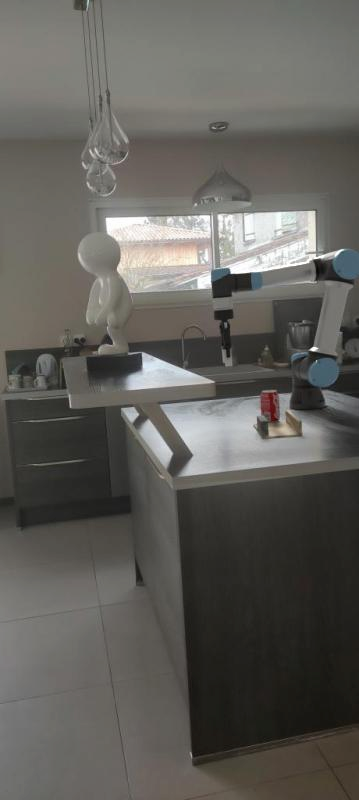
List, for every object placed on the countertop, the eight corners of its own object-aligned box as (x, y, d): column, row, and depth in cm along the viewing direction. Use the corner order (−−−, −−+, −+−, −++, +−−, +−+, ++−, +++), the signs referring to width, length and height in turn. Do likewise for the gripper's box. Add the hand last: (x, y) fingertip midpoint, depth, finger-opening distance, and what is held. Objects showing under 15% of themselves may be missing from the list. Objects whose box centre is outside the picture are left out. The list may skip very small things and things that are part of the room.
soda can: (279, 419, 225) (278, 388, 223) (280, 423, 218) (279, 391, 216) (261, 420, 226) (259, 390, 224) (261, 424, 219) (260, 392, 217)
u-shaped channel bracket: (289, 422, 217) (288, 408, 216) (302, 435, 196) (301, 419, 195) (253, 425, 217) (252, 411, 216) (262, 438, 195) (261, 422, 195)
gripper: (211, 309, 234) (216, 362, 237) (215, 310, 209) (219, 368, 212) (230, 308, 233) (234, 360, 237) (235, 308, 209) (240, 366, 212)
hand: (227, 364), depth 225 cm, fingers open, 13 cm apart
